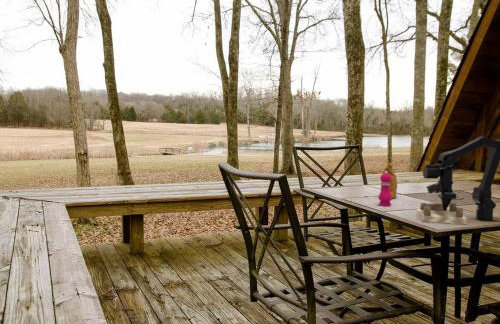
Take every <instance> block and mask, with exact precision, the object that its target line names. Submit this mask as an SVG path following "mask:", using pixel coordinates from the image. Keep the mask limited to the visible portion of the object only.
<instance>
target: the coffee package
mask: <svg viewBox="0 0 500 324" xmlns="http://www.w3.org/2000/svg"><path fill="white" fill-rule="evenodd" d="M393 166H394V163H393V162H390V163H387V166H386V167H385V168H384V170H383V172H382V174H385V173H384V172H385V171H387V172H388V173H387V174H389V175H391V181H390V185H389V190H390V193H391V196H392V199H394V198H395V197H396V196H397V191H398V181H397V175H396V174H395V172H394V170H393ZM381 182H382V181H381V180H380V191H381V190H382V184H381Z"/></svg>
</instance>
